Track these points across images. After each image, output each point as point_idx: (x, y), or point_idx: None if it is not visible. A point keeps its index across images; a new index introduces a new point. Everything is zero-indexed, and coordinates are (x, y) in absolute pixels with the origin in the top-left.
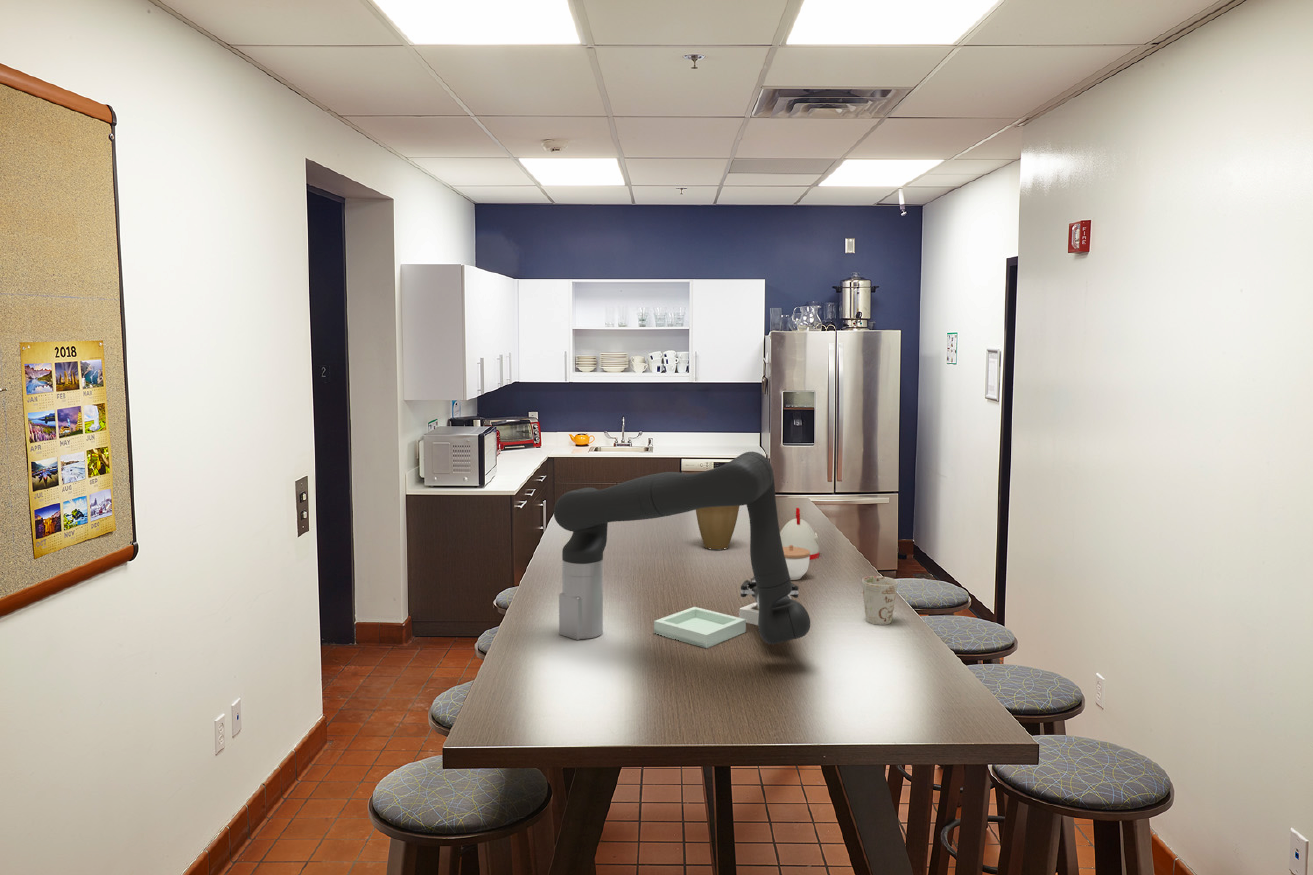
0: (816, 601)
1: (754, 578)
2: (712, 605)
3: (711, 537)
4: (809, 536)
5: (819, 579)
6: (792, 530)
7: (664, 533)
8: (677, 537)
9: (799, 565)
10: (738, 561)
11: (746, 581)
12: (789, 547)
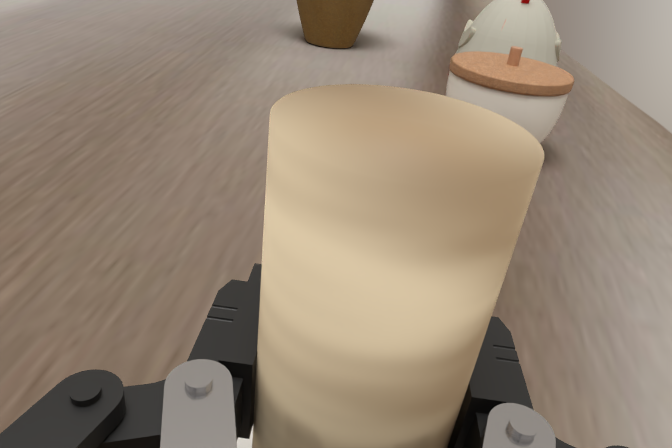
0: (616, 315)
1: (240, 311)
2: (106, 297)
3: (316, 16)
4: (545, 37)
5: (579, 168)
6: (507, 17)
7: (252, 8)
8: (269, 16)
9: (534, 120)
10: (360, 79)
11: (62, 411)
12: (509, 54)
